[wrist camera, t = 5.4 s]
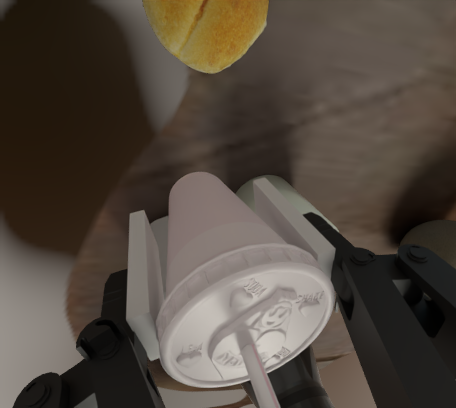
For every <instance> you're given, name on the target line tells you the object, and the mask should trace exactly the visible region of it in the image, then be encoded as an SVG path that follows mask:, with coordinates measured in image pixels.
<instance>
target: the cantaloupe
mask: <svg viewBox="0 0 456 408" xmlns="http://www.w3.org/2000/svg"><path fill="white" fill-rule="evenodd" d="M405 244H415V245H420V246H423V247H426V248H428V249H429V250H431V251H433V252H434V253H435V254H437V255H438V256H439V257H440V258H442V259H443V260H444V261H446V262H447V263H448V264H450V265H451V266H452V267H454V268H455V269H456V221H450V220H433V221H429V222H425V223H422V224H420V225H418V226H416V227H414V228H413V229H411V230H410V231H409V232H408V233H407V234H406V235H405V236H404V238H403V239H402V241H401V243H400V246H402V245H405ZM400 246H399V247H400ZM425 295H426V294H425ZM426 296H427V295H426ZM428 297H429V296H428ZM429 298H430V297H429Z"/></svg>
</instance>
